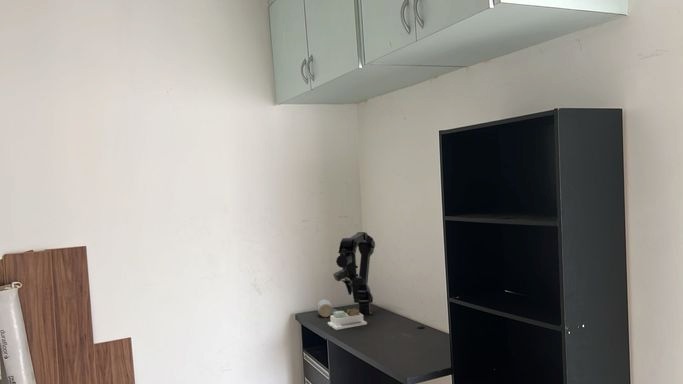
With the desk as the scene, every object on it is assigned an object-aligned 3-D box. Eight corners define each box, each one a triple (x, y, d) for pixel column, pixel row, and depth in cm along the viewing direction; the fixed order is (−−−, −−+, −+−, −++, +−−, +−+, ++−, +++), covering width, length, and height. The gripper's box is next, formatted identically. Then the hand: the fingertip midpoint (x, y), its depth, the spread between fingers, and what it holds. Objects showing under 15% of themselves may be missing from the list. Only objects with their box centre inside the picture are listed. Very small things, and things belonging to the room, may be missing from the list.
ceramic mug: (319, 318, 278) (318, 303, 277) (317, 314, 286) (316, 299, 285) (339, 316, 279) (339, 301, 279) (337, 312, 287) (336, 298, 287)
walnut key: (347, 315, 268) (347, 309, 267) (355, 314, 269) (355, 308, 269) (350, 317, 263) (350, 311, 263) (359, 316, 265) (358, 310, 265)
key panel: (327, 324, 266) (327, 316, 266) (358, 319, 272) (357, 311, 271) (335, 329, 256) (335, 321, 255) (367, 324, 261) (366, 316, 261)
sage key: (334, 318, 265) (333, 311, 265) (342, 316, 267) (342, 310, 266) (337, 320, 261) (337, 313, 261) (345, 318, 262) (345, 312, 262)
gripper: (327, 263, 271) (330, 294, 272) (341, 268, 254) (343, 301, 254) (348, 260, 275) (350, 291, 276) (363, 265, 258) (365, 298, 258)
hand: (352, 295), depth 266 cm, fingers open, 5 cm apart
